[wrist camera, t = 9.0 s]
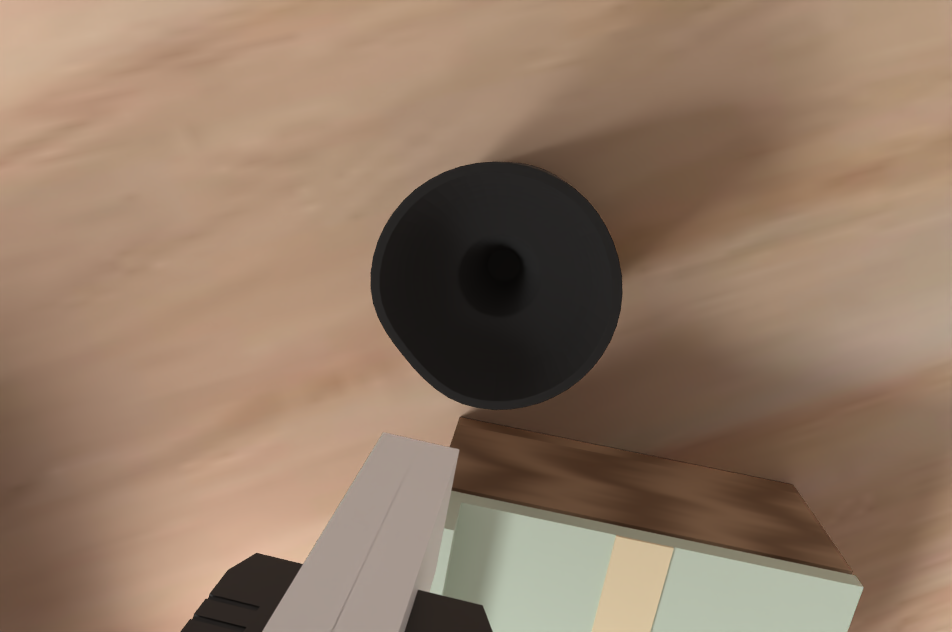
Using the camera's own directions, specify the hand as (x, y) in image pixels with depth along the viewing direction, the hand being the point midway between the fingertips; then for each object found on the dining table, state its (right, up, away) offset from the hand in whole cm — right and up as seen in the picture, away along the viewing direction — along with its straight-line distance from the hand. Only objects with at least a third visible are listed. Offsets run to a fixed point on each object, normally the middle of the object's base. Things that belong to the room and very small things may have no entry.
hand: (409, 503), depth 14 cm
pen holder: (+3, +7, +22) cm, 24 cm away
